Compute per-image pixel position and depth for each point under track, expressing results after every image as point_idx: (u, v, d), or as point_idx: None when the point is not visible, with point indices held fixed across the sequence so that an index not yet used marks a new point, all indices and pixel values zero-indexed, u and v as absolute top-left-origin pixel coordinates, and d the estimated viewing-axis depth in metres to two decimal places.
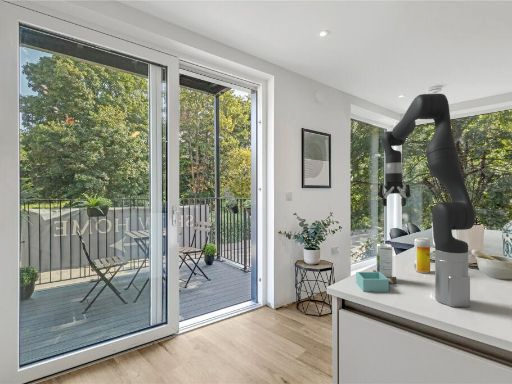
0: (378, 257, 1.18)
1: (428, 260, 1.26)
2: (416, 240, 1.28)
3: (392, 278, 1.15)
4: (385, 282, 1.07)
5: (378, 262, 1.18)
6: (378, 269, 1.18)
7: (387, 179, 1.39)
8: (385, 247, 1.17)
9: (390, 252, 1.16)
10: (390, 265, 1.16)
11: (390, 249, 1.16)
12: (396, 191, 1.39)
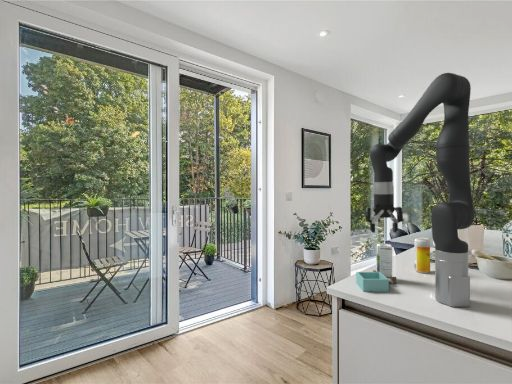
0: (378, 257, 1.18)
1: (428, 260, 1.26)
2: (416, 240, 1.28)
3: (392, 278, 1.15)
4: (385, 282, 1.07)
5: (378, 262, 1.18)
6: (378, 269, 1.18)
7: (376, 201, 1.18)
8: (385, 247, 1.17)
9: (390, 252, 1.16)
10: (390, 265, 1.16)
11: (390, 249, 1.16)
12: (386, 215, 1.18)
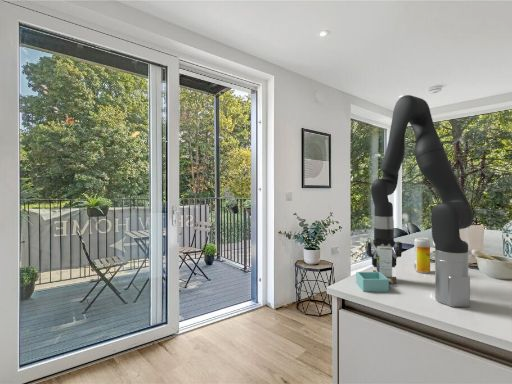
0: (378, 257, 1.18)
1: (428, 260, 1.26)
2: (416, 240, 1.28)
3: (392, 278, 1.15)
4: (385, 282, 1.07)
5: (378, 262, 1.18)
6: (378, 269, 1.18)
7: (376, 235, 1.18)
8: (385, 247, 1.17)
9: (390, 252, 1.16)
10: (390, 265, 1.16)
11: (390, 249, 1.16)
12: None
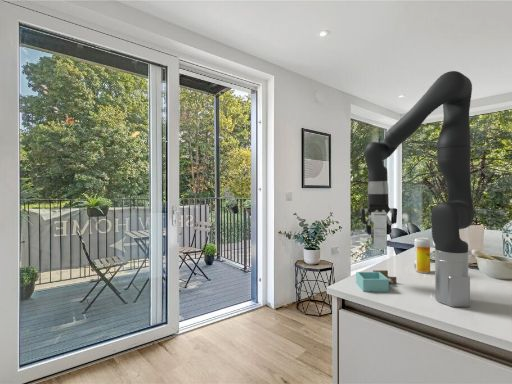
0: (372, 224, 1.14)
1: (428, 260, 1.26)
2: (416, 240, 1.28)
3: (392, 278, 1.15)
4: (385, 282, 1.07)
5: (372, 229, 1.14)
6: (372, 236, 1.14)
7: (370, 201, 1.14)
8: (379, 213, 1.13)
9: (384, 218, 1.12)
10: (384, 231, 1.12)
11: (384, 215, 1.12)
12: None
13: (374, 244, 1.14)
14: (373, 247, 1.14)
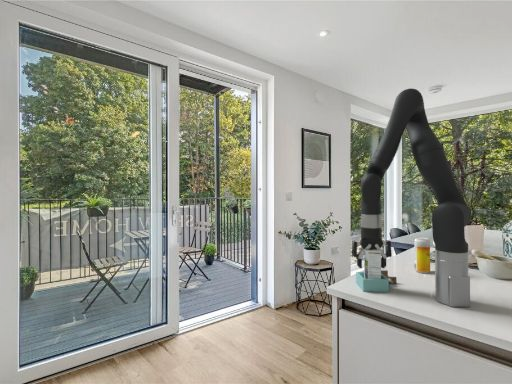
0: (366, 262, 1.09)
1: (428, 260, 1.26)
2: (416, 240, 1.28)
3: (392, 278, 1.15)
4: (385, 282, 1.07)
5: (366, 267, 1.09)
6: (366, 275, 1.09)
7: (363, 235, 1.10)
8: (373, 251, 1.08)
9: (379, 256, 1.08)
10: (379, 270, 1.08)
11: (379, 253, 1.08)
12: None
13: None
14: None
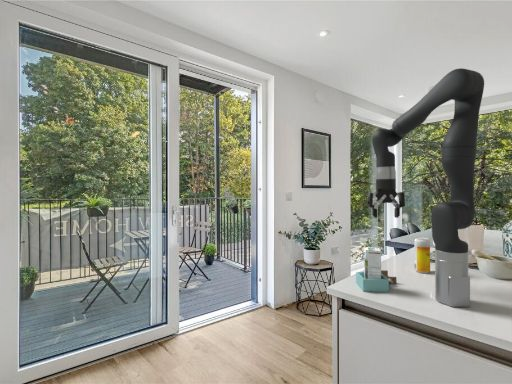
0: (366, 262, 1.09)
1: (428, 260, 1.26)
2: (416, 240, 1.28)
3: (392, 278, 1.15)
4: (385, 282, 1.07)
5: (366, 267, 1.09)
6: (366, 275, 1.09)
7: (378, 186, 1.17)
8: (374, 251, 1.08)
9: (379, 257, 1.08)
10: (379, 271, 1.08)
11: (379, 253, 1.08)
12: (388, 200, 1.18)
13: None
14: None
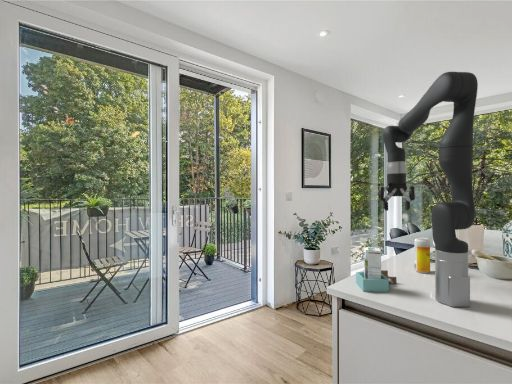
0: (366, 262, 1.09)
1: (428, 260, 1.26)
2: (416, 240, 1.28)
3: (392, 278, 1.15)
4: (385, 282, 1.07)
5: (366, 267, 1.09)
6: (366, 275, 1.09)
7: (389, 180, 1.23)
8: (374, 251, 1.08)
9: (379, 257, 1.08)
10: (379, 271, 1.08)
11: (379, 253, 1.08)
12: (399, 194, 1.23)
13: None
14: None
